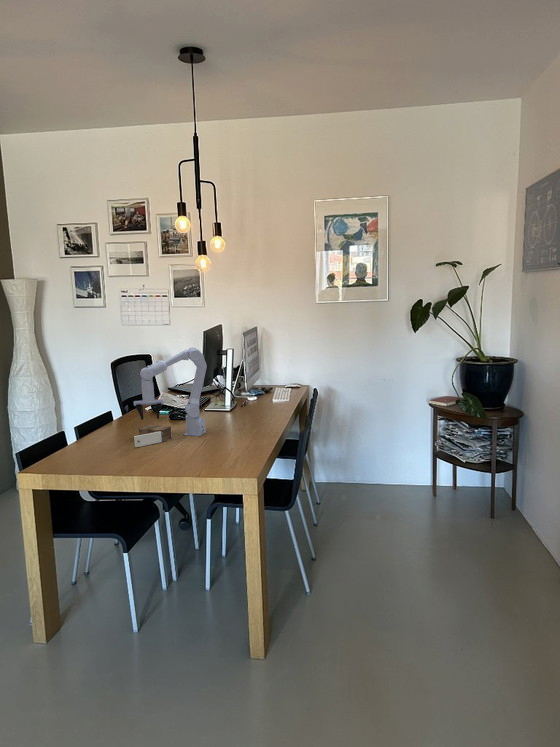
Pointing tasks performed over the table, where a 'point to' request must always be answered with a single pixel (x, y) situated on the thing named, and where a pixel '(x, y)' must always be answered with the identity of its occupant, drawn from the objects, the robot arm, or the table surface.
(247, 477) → the table surface
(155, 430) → the cabinet
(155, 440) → the door
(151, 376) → the robot arm
